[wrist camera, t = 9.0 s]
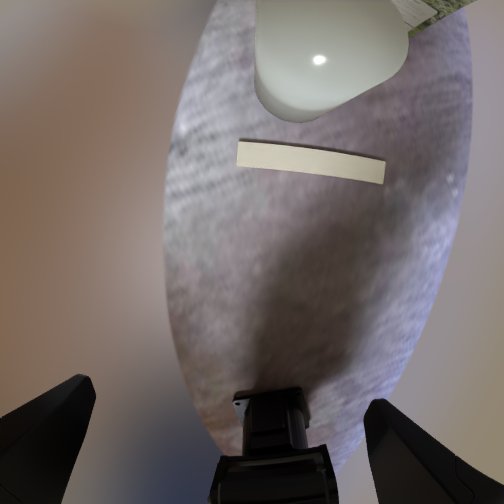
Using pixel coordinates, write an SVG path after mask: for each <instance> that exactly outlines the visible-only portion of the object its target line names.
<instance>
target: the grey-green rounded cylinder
mask: <svg viewBox="0 0 504 504" xmlns="http://www.w3.org/2000/svg"><path fill="white" fill-rule="evenodd" d="M408 47H409V38H408V32H407V27H406V25H405V22H404V19H403V17H402V15H401V13H400V12H399V10H398V9H397V7H396V6H395V4H394V3H393V2H392V1H391V0H257V4H256V27H255V74H254V86H255V92H256V95H257V97H258V99H259V101H260V103H261V104H262V105H263V107H264V108H265V109H266V110H267V111H268V112H270V113H271V114H272V115H274V116H276V117H277V118H279V119H282V120H284V121H288V122H294V123H303V122H309V121H312V120H315V119H317V118H319V117H321V116H323V115H324V114H326V113H328V112H329V111H331V110H333V109H335V108H336V107H338V106H340V105H341V104H343V103H345V102H347V101H349V100H350V99H352V98H354V97H356V96H358V95H359V94H361V93H363V92H365V91H367V90H369V89H370V88H372V87H374V86H376V85H378V84H380V83H382V82H384V81H386V80H387V79H389V78H390V77H392V76H393V75H394V74H396V73H397V72H398V71H399V69H400V68H401V67H402V65H403V64H404V62H405V59H406V57H407V53H408Z"/></svg>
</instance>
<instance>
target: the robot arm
mask: <svg viewBox="0 0 504 504" xmlns="http://www.w3.org/2000/svg"><path fill="white" fill-rule="evenodd" d="M296 392H298V393H296ZM95 400H96V393H95V390H94V387H93V384H92V381H91V379H90V378H89V376H86V375H82V374H77V375H75V376H73V377H71V378H70V379H68V380H66V381H64V382H63V383H61V384H59V385H57V386H56V387H54V388H52V389H50V390H49V391H47V392H45V393H43V394H42V395H40V396H38V397H36V398H35V399H33V400H31V401H29V402H27V403H26V404H24V405H22V406H21V407H19V408H17V409H15V410H13V411H12V412H10V413H8V414H6V415H4V416H2V418H0V504H61V502H62V499H63V496H64V493H65V490H66V487H67V484H68V481H69V478H70V476H71V473H72V470H73V467H74V464H75V462H76V459H77V456H78V454H79V451H80V449H81V446H82V443H83V441H84V438H85V435H86V432H87V429H88V425H89V421H90V418H91V414H92V410H93V407H94V404H95ZM237 402H239V403H237ZM232 404H233V407H234V409H235V411H236V413H237V415H238V418H239V420H240V422H241V424H242V426H243V444H242V456H227V455H225V456H221V457H220V461H219V463H218V465H217V468H216V472H215V476H214V479H213V482H212V486H211V490H210V494H209V496H208V503H209V504H339V497H338V488H337V482H336V477H335V473H334V470H333V466H332V463H331V459H330V456H329V453H328V449H327V446H326V444H323V445H319V446H317V447H312V448H308V442H307V436H306V430H305V429H307V428H309V421H308V416H307V411H306V405H305V400H304V395H303V390H302V388H300V387H296V388H291V389H286V390H280V391H275V392H269V393H263V394H257V395H251V396H244V397H236V398H234V399H233V401H232ZM364 428H365V435H366V443H367V451H368V458H369V463H370V467H371V471H372V476H373V480H374V484H375V488H376V493H377V497H378V502H379V504H504V485H503V484H501V483H499V482H497V481H495V480H494V479H492V478H490V477H488V476H486V475H485V474H483V473H481V472H480V471H478V470H476V469H475V468H473V467H472V466H470V465H469V464H468V463H466V462H465V461H463V460H462V459H461V458H459V457H458V456H455V454H454V453H453V452H452V451H450V450H449V449H448V448H446V447H445V446H444V445H442V444H441V443H440V442H439V441H437V440H436V439H434V438H433V437H432V436H431V435H430V434H428V433H427V432H426V431H425V430H423V429H422V428H421V427H420V426H418V425H417V424H416V423H414V422H413V421H412V420H411V419H409V418H408V417H407V416H406V415H404V414H403V413H402V412H401V411H399V410H398V409H397V408H396V407H395V406H393V405H392V404H391V403H390V402H388V401H387V400H386V399H383V398H382V399H374V400H372V401H371V403H370V405H369V407H368V409H367V411H366V413H365V415H364Z"/></svg>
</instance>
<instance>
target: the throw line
mask: <svg viewBox="0 0 504 504" xmlns="http://www.w3.org/2000/svg"><path fill="white" fill-rule="evenodd" d="M385 163H386V162H384V161H380V160H375V159H370V158H365V157H359V156H354V155H348V154H342V153H336V152H330V151H323V150H316V149H309V148H301V147H293V146H284V145H275V144H264V143H252V142H239V141H238V153H237V166H242V167H255V168H266V169H277V170H287V171H296V172H304V173H313V174H320V175H328V176H335V177H342V178H348V179H355V180H361V181H367V182H373V183H378V184H383V181H384V172H385Z"/></svg>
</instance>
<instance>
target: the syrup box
mask: <svg viewBox="0 0 504 504" xmlns="http://www.w3.org/2000/svg"><path fill="white" fill-rule="evenodd" d="M391 1H392V2H393V3H394V4H395V6H396V7H397V9H398V10H399V12H400V13H401V15H402V17H403V19H404V22H405V25H406V27H407V32H408V36H409V37H411V36H413V35H415V34H417V33H418V32H420V31H422V30H423V29H425V28H427V27H428V26H430V25H432V24H434V23H435V22H437V21H439V20H440V19H442V18H444V17H446V16H448V15H449V14H451V13H453V12H455V11H457V10H459V9H460V8H462V7H464V6H466V5H468V4H470V3H472V2H474V1H476V0H391Z"/></svg>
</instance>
